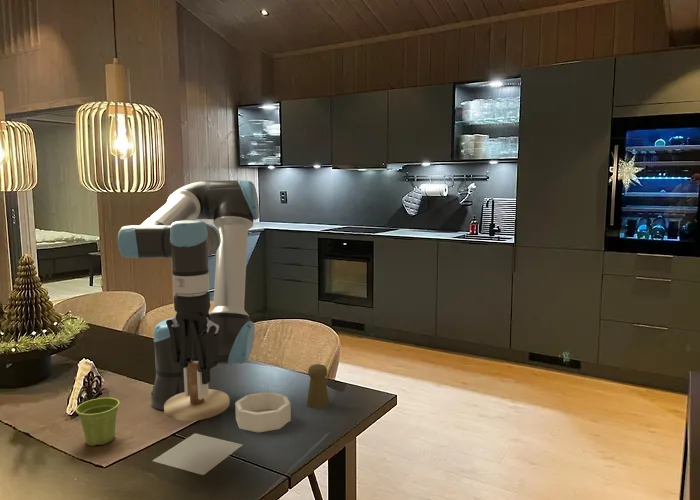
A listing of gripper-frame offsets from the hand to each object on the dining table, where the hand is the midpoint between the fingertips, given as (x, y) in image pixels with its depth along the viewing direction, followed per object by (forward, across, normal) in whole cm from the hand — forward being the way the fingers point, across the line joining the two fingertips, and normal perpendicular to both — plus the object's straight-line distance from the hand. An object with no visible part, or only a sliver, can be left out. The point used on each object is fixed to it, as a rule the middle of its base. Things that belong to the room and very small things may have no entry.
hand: (196, 395), depth 120 cm
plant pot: (+14, -26, -5) cm, 30 cm away
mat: (+14, 0, -1) cm, 14 cm away
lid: (+3, 0, 0) cm, 3 cm away
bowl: (+14, +4, +19) cm, 24 cm away
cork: (+15, +12, +34) cm, 39 cm away
